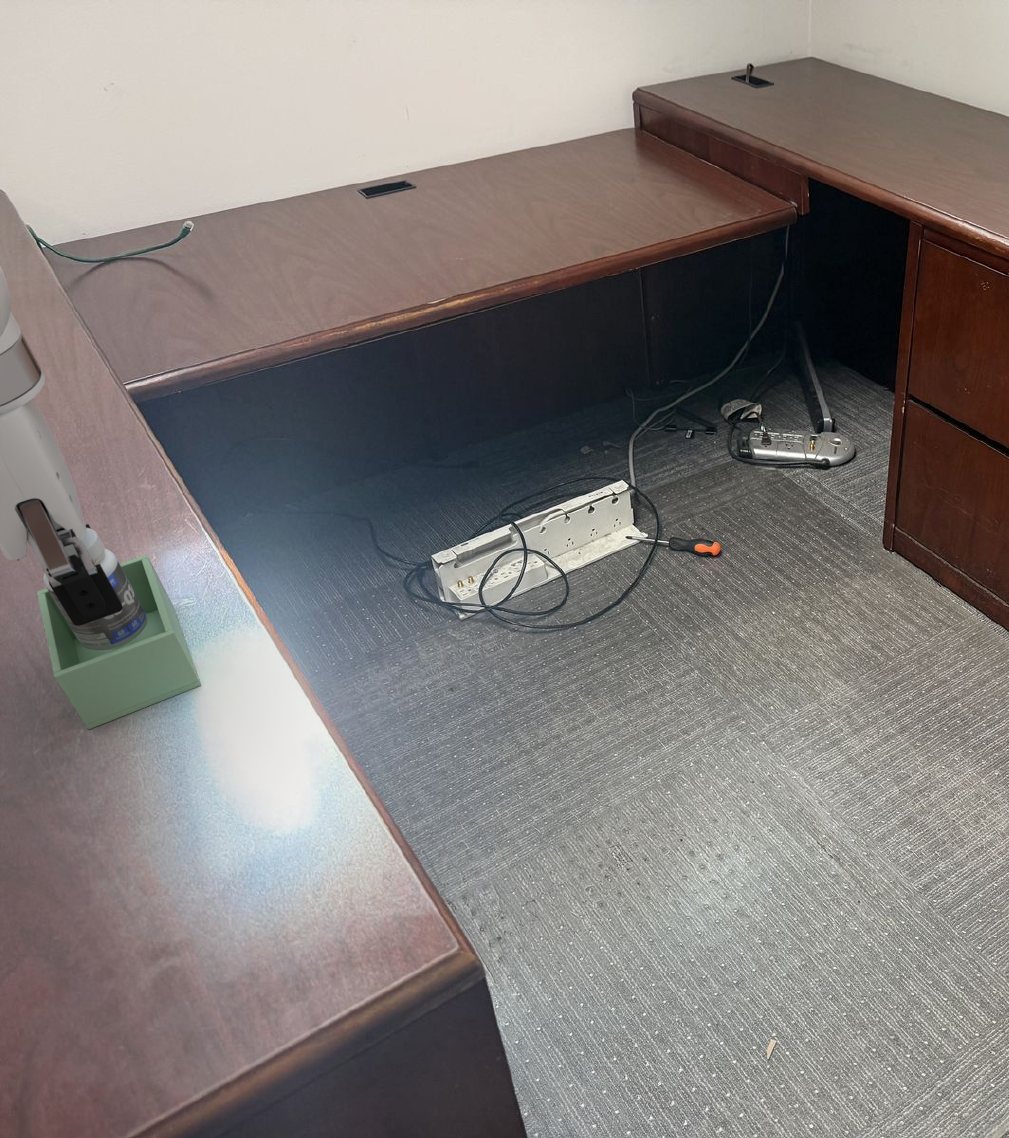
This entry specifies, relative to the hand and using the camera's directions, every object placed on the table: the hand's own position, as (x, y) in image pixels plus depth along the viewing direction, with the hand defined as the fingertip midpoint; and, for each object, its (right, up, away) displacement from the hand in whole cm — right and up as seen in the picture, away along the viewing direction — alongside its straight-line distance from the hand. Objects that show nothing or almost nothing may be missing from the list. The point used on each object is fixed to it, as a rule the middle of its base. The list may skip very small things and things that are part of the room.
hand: (92, 593), depth 76 cm
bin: (0, -6, +5) cm, 7 cm away
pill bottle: (0, -3, +3) cm, 4 cm away
